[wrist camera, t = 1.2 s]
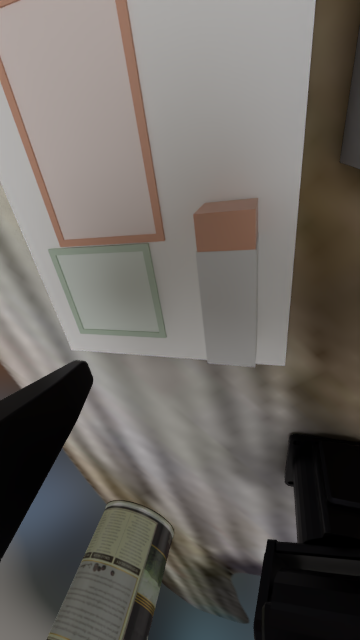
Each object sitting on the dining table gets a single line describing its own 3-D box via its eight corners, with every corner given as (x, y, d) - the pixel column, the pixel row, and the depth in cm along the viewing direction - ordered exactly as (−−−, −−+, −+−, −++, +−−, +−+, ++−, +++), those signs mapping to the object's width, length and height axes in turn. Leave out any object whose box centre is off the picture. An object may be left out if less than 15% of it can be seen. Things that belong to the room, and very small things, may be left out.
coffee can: (189, 534, 36) (153, 713, 25) (147, 541, 42) (101, 689, 31) (129, 493, 35) (60, 666, 23) (93, 506, 40) (24, 650, 29)
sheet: (284, 361, 18) (285, 367, 17) (74, 346, 22) (70, 351, 22) (327, -152, 8) (330, -169, 7) (-63, 15, 13) (-75, 11, 12)
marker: (257, 338, 17) (255, 367, 15) (214, 336, 18) (207, 363, 15) (259, 197, 13) (257, 208, 11) (203, 202, 13) (191, 214, 11)
